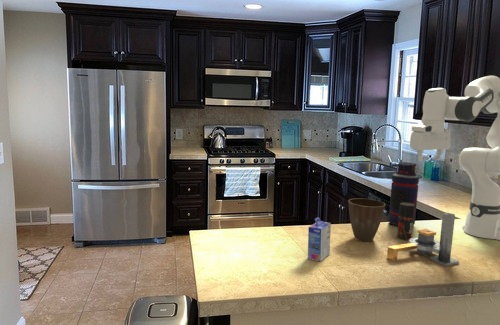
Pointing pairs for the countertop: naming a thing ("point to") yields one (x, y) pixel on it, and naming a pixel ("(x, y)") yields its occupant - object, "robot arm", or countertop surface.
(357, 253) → the countertop surface
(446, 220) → the post
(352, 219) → the plant pot
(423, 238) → the grey lidded jar
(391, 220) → the thermos bottle
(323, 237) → the ink cartridge box
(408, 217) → the deodorant
